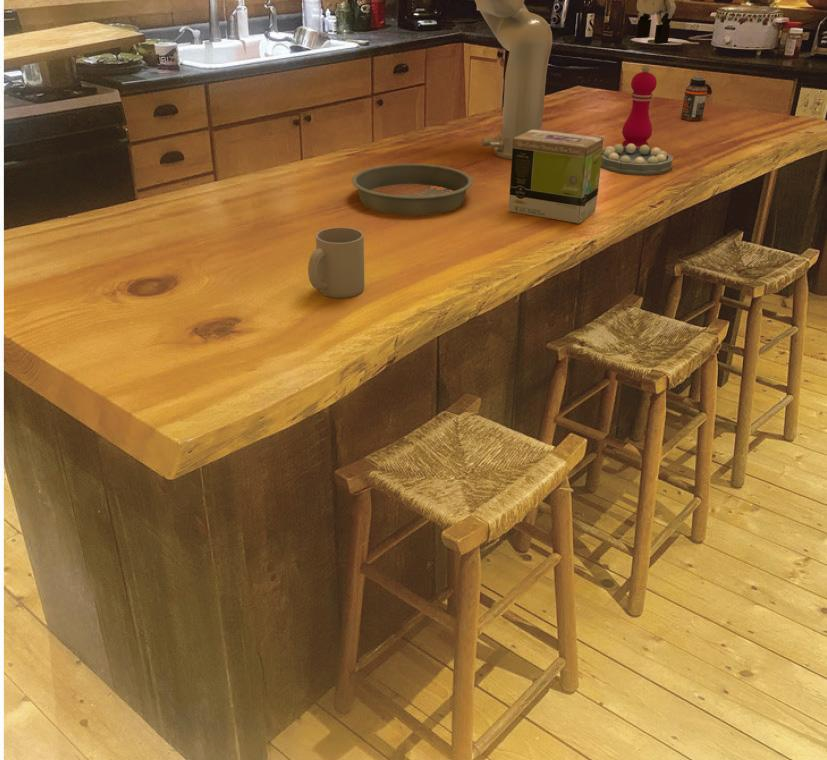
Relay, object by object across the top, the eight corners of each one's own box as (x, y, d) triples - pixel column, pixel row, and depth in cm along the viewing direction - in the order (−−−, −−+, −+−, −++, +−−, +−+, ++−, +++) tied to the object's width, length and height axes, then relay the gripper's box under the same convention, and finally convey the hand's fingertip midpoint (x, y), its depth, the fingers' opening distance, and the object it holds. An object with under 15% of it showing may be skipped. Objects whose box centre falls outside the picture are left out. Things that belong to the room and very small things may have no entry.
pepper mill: (647, 146, 212) (659, 63, 202) (651, 153, 205) (664, 68, 196) (618, 145, 212) (629, 62, 202) (621, 152, 206) (632, 67, 196)
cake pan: (482, 188, 179) (483, 167, 177) (456, 224, 159) (457, 201, 156) (373, 178, 185) (373, 158, 183) (335, 212, 164) (334, 189, 162)
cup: (374, 289, 131) (373, 234, 126) (327, 308, 124) (324, 252, 120) (342, 277, 135) (340, 224, 131) (295, 295, 128) (291, 240, 124)
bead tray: (614, 177, 187) (616, 161, 185) (586, 157, 202) (587, 142, 200) (683, 173, 190) (686, 157, 188) (651, 154, 205) (653, 139, 203)
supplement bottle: (676, 117, 242) (683, 76, 236) (694, 116, 243) (701, 76, 238) (688, 122, 237) (695, 80, 231) (706, 121, 238) (713, 79, 233)
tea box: (596, 211, 166) (605, 136, 158) (578, 225, 158) (587, 147, 151) (527, 199, 172) (533, 126, 165) (506, 212, 165) (511, 136, 157)
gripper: (630, -43, 195) (621, 36, 203) (663, -39, 180) (652, 46, 188) (660, -43, 196) (650, 35, 204) (695, -39, 181) (683, 45, 190)
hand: (651, 40), depth 196 cm, fingers open, 9 cm apart
